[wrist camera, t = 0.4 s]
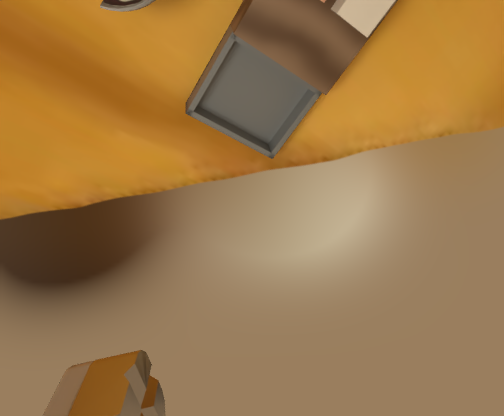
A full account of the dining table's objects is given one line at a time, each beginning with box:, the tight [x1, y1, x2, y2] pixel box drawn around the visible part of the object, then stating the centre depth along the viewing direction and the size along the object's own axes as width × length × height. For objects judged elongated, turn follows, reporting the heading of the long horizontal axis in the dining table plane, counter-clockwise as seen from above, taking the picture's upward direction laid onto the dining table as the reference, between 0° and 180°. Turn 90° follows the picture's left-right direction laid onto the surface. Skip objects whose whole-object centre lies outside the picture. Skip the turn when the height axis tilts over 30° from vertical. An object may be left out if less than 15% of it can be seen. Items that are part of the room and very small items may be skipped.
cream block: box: [331, 0, 395, 37], centre depth 44 cm, size 5×5×2 cm
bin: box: [186, 25, 322, 159], centre depth 54 cm, size 12×15×4 cm
